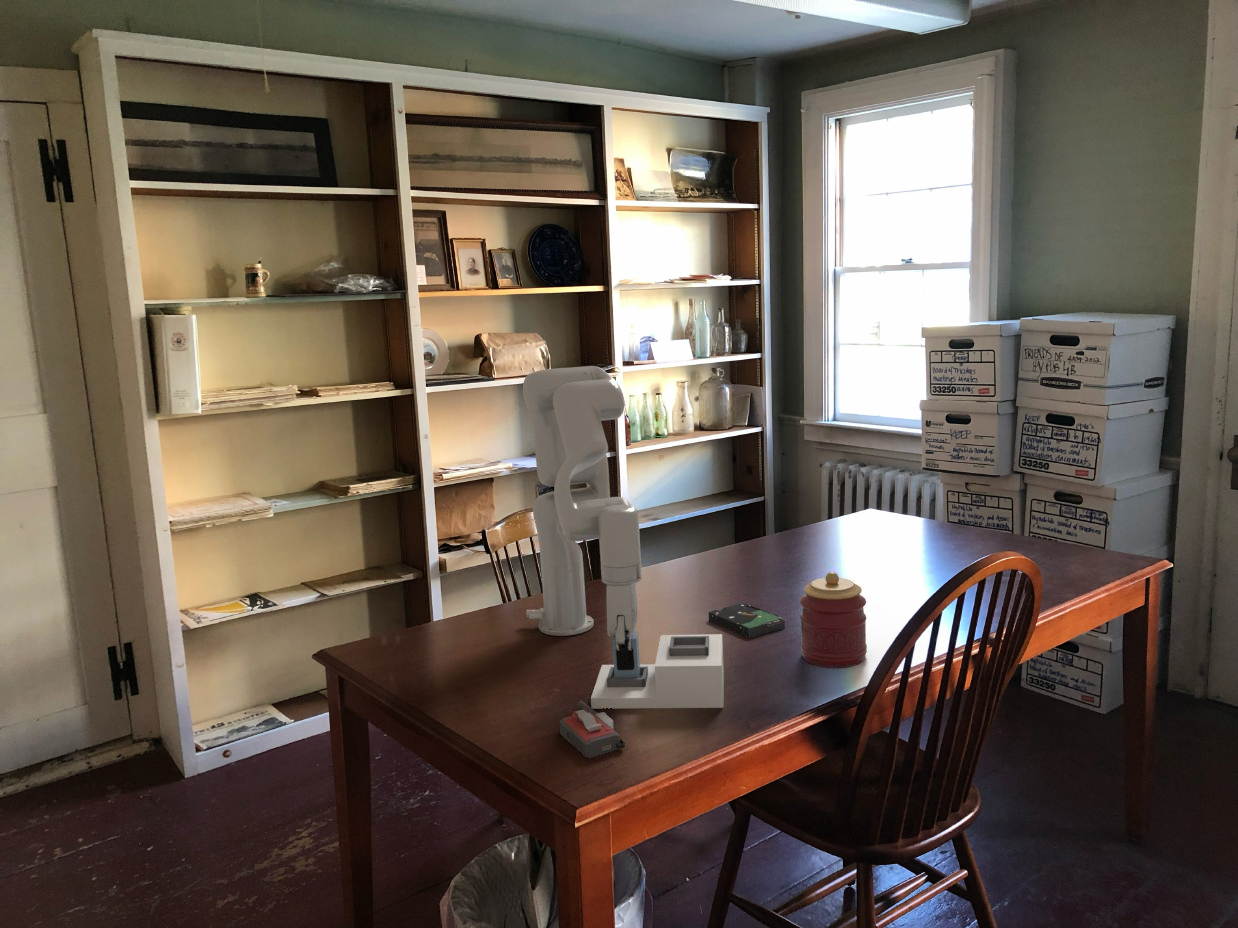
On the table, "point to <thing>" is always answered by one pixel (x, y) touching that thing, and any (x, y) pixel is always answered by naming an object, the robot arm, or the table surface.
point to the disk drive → (746, 620)
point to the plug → (635, 647)
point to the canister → (833, 622)
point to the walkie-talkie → (590, 732)
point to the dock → (669, 677)
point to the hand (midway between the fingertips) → (626, 664)
